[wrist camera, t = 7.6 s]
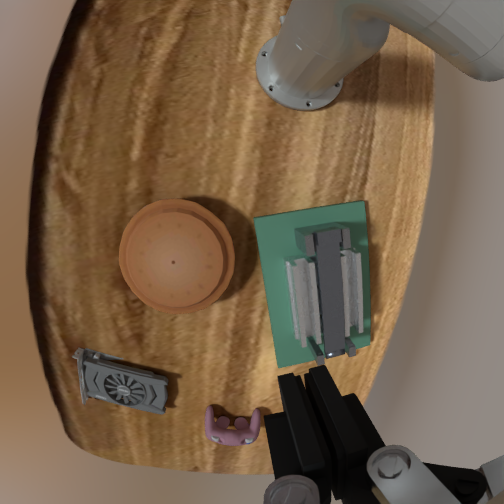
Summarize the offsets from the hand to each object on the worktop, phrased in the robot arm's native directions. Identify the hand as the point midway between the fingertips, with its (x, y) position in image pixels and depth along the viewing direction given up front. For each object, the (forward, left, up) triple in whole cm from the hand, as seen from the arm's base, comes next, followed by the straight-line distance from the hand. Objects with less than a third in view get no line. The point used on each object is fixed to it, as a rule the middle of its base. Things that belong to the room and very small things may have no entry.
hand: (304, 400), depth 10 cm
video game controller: (+32, -8, -33) cm, 47 cm away
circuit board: (+10, +10, -33) cm, 36 cm away
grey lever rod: (+9, +10, -27) cm, 31 cm away
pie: (+1, -9, -33) cm, 35 cm away
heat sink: (+9, +10, -32) cm, 34 cm away
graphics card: (+22, -26, -34) cm, 48 cm away
